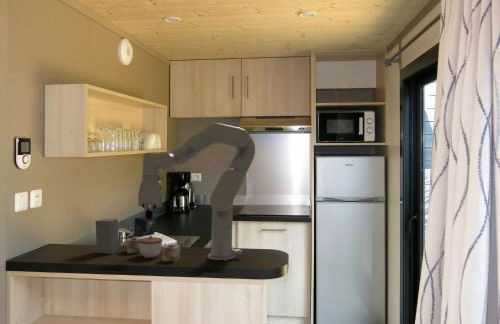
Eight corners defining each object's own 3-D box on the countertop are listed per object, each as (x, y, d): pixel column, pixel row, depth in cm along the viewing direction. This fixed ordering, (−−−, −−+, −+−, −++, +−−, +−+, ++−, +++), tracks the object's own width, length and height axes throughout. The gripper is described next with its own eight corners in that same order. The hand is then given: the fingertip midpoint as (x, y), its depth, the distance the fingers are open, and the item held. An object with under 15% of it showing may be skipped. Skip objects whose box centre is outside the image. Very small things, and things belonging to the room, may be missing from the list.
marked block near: (179, 258, 186) (180, 245, 186) (174, 262, 180) (175, 247, 180) (167, 258, 187) (167, 244, 187) (161, 261, 181) (162, 247, 181)
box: (141, 236, 235) (141, 218, 235) (133, 235, 238) (133, 217, 238) (155, 234, 244) (155, 216, 244) (147, 232, 247) (147, 215, 247)
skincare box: (119, 251, 198) (119, 218, 198) (110, 254, 191) (110, 220, 191) (103, 250, 200) (104, 217, 200) (94, 253, 193) (95, 219, 193)
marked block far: (140, 250, 202) (140, 237, 202) (140, 252, 196) (140, 240, 196) (127, 250, 200) (128, 237, 200) (127, 253, 194) (127, 240, 194)
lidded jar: (150, 252, 197) (150, 232, 197) (166, 255, 192) (167, 235, 192) (133, 256, 188) (133, 236, 188) (150, 260, 182) (150, 239, 182)
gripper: (168, 179, 193) (166, 218, 193) (137, 178, 193) (135, 217, 194) (164, 180, 186) (163, 221, 186) (132, 178, 186) (130, 219, 186)
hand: (148, 218), depth 190 cm, fingers closed
